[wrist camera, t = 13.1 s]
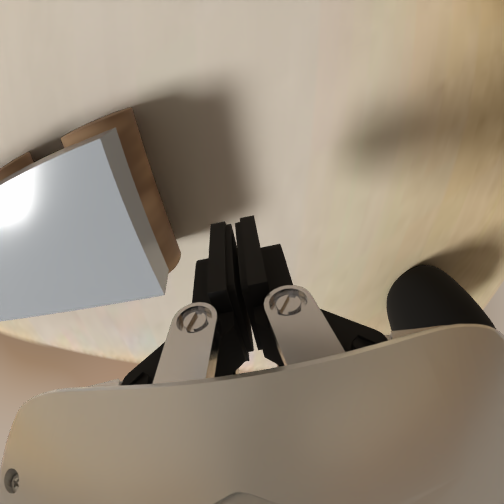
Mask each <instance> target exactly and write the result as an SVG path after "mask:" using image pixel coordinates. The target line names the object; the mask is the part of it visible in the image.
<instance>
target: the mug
mask: <svg viewBox="0 0 504 504" xmlns="http://www.w3.org/2000/svg"><path fill="white" fill-rule="evenodd" d="M387 314H388V319H389V323H390V326H391V330H392V331H398V330H408V329H417V328H426V327H434V326H441V325H454V324H481V325H486V326H490V327H492V328H495V327H494V325H493V323H492V322H491V320H490V319H489V318H488V316H487V315H486V314H485V312H484V311H483V310H482V309H481V307H480V306H479V305H478V304H477V303H476V302H475V300H474V299H473V298H472V297H471V296H470V295H469V294H468V293H467V292H466V291H465V290H464V289H463V288H462V287H461V286H460V285H459V284H458V283H457V282H456V281H455V280H454V279H453V278H451V277H450V276H449V275H448V274H446V273H445V272H444V271H442V270H440V269H439V268H436V267H434V266H430V265H421V266H417V267H414V268H412V269H410V270H408V271H407V272H405V273H404V274H403V275H401V276H400V277H399V278H398V279H397V280H396V281H395V283H394V284H393V285H392V287H391V289H390V291H389V293H388V296H387ZM495 329H496V328H495Z"/></svg>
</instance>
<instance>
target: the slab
mask: <svg viewBox="0 0 504 504" xmlns="http://www.w3.org/2000/svg"><path fill="white" fill-rule="evenodd" d="M168 272H169V269H168V267H167V265H166V262H165V260H164V257H163V255H162V253H161V250H160V248H159V245H158V243H157V241H156V238H155V236H154V233H153V231H152V228H151V226H150V223H149V221H148V218H147V215H146V213H145V210H144V208H143V205H142V202H141V200H140V197H139V194H138V192H137V189H136V186H135V183H134V181H133V178H132V175H131V172H130V169H129V166H128V163H127V160H126V157H125V154H124V151H123V148H122V145H121V142H120V139H119V136H118V133H117V130H116V127H115V128H113V129H110V130H107V131H105V132H102V133H100V134H98V135H96V136H93V137H91V138H88V139H86V140H84V141H81V142H79V143H76V144H74V145H71V146H68V147H66V148H63V149H61V150H59V151H57V152H55V153H53V154H50V155H48V156H46V157H44V158H42V159H40V160H38V161H36V162H34V163H32V164H30V165H28V166H26V167H24V168H22V169H21V170H19V171H17V172H15V173H13V174H11V175H10V176H8V177H6V178H4V179H3V180H1V181H0V321H6V320H13V319H21V318H28V317H34V316H41V315H48V314H54V313H61V312H67V311H74V310H80V309H86V308H92V307H98V306H104V305H110V304H116V303H122V302H128V301H134V300H139V299H145V298H151V297H156V296H162V295H165V290H166V284H167V278H168Z"/></svg>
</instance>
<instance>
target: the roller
mask: <svg viewBox="0 0 504 504" xmlns="http://www.w3.org/2000/svg"><path fill="white" fill-rule="evenodd" d="M115 127H116V130H117V133H118V136H119V139H120V142H121V145H122V148H123V151H124V154H125V157H126V160H127V163H128V166H129V169H130V172H131V175H132V178H133V181H134V183H135V186H136V189H137V192H138V194H139V197H140V200H141V202H142V205H143V208H144V210H145V213H146V215H147V218H148V221H149V223H150V226H151V228H152V231H153V233H154V236H155V238H156V241H157V243H158V245H159V248H160V250H161V253H162V255H163V257H164V260H165V262H166V265H167V267H168V269H169V272H168V274H169V273H170V272H171V271H172V270H173V269H174V268H175V267H176V265H177V264H178V262H179V260H180V257H181V252H180V249H179V247H178V244H177V241H176V239H175V236H174V233H173V231H172V228H171V225H170V222H169V220H168V217H167V214H166V211H165V208H164V206H163V203H162V200H161V197H160V194H159V191H158V188H157V185H156V183H155V180H154V177H153V174H152V171H151V168H150V164H149V161H148V158H147V155H146V152H145V149H144V146H143V142H142V139H141V136H140V133H139V129H138V126H137V123H136V119H135V116H134V112H133V109H132V107H131V108H127V109H123V110H120V111H117V112H115V113H112V114H109V115H107V116H104V117H102V118H99V119H97V120H95V121H92V122H90V123H88V124H86V125H84V126H81V127H79V128H77V129H75V130H73V131H72V132H70V133H68V134H66V135H64V136H63V137H61V141H62V144H63V146H64V148H66V147H68V146H71V145H74V144H76V143H79V142H81V141H84V140H86V139H88V138H91V137H93V136H96V135H98V134H100V133H102V132H105V131H107V130H110V129H113V128H115Z"/></svg>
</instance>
